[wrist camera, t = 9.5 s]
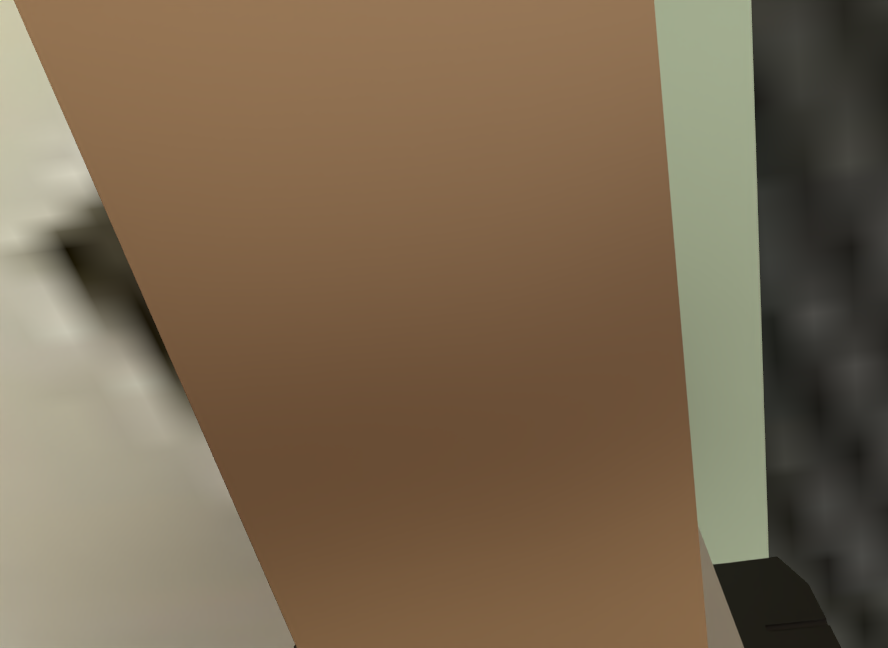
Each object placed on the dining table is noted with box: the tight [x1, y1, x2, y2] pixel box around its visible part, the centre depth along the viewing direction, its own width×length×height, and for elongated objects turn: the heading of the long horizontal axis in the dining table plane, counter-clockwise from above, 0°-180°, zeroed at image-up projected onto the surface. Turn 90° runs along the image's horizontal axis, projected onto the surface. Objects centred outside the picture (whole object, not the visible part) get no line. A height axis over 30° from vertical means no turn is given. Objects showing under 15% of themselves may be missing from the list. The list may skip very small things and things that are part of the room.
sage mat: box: [654, 0, 769, 564], centre depth 16 cm, size 28×10×1 cm, turn 12°
